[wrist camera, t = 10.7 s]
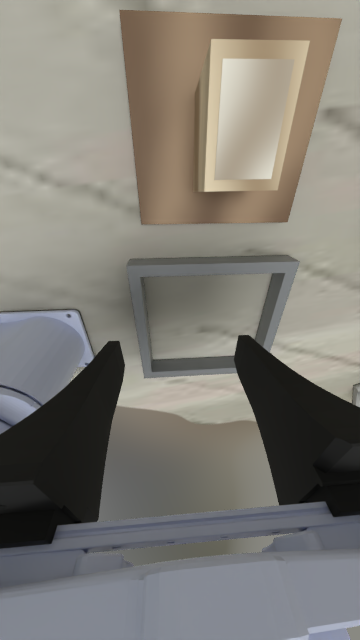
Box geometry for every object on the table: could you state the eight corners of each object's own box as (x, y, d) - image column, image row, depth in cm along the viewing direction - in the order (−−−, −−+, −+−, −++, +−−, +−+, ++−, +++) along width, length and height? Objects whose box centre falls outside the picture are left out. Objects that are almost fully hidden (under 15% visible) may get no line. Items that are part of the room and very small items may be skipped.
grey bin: (145, 366, 26) (144, 378, 24) (130, 259, 18) (126, 265, 16) (257, 360, 26) (263, 371, 25) (287, 255, 19) (299, 261, 17)
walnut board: (142, 222, 16) (141, 224, 16) (123, 23, 11) (119, 9, 10) (281, 220, 17) (287, 222, 16) (329, 31, 11) (341, 18, 11)
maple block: (193, 191, 15) (204, 191, 10) (195, 92, 12) (211, 38, 8) (245, 190, 15) (278, 190, 11) (259, 93, 12) (310, 39, 8)
